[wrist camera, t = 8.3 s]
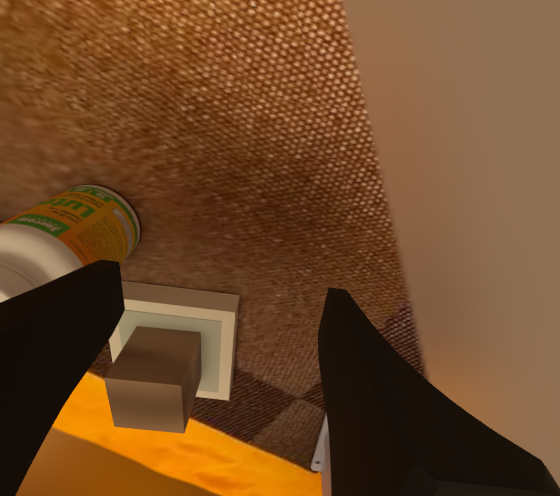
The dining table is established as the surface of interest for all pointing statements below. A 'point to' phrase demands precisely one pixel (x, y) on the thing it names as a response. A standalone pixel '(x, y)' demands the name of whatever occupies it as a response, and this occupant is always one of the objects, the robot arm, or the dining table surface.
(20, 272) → the supplement bottle
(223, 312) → the tile base
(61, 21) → the dining table surface
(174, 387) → the walnut block
